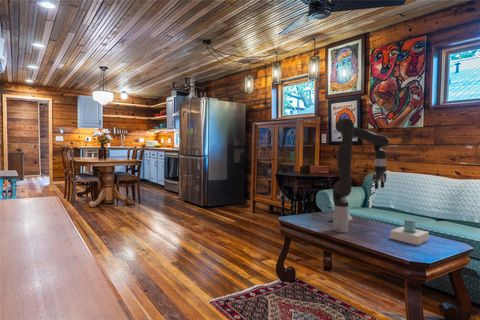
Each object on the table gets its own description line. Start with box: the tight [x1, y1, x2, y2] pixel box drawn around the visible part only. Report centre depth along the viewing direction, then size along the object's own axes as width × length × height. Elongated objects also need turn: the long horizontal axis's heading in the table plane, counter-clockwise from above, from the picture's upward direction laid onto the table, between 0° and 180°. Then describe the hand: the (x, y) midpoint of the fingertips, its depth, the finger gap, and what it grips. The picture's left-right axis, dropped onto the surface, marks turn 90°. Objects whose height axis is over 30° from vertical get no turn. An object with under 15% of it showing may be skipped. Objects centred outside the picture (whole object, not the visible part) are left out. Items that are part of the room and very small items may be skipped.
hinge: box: [348, 209, 353, 222], centre depth 241 cm, size 17×5×10 cm, turn 130°
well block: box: [390, 226, 430, 246], centre depth 194 cm, size 16×16×5 cm
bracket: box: [403, 218, 417, 233], centre depth 194 cm, size 4×5×11 cm
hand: (379, 188), depth 218 cm, fingers open, 8 cm apart
